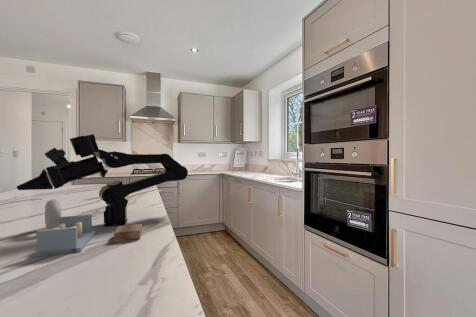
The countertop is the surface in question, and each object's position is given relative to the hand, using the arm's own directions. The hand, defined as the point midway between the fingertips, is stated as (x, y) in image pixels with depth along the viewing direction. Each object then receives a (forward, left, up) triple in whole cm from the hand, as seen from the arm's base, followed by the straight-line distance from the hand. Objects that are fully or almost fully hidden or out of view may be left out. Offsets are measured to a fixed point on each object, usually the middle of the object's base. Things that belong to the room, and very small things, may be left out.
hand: (19, 187), depth 67 cm
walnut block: (-29, +8, -15) cm, 34 cm away
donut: (-5, -7, -15) cm, 18 cm away
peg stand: (-14, +8, -15) cm, 22 cm away
